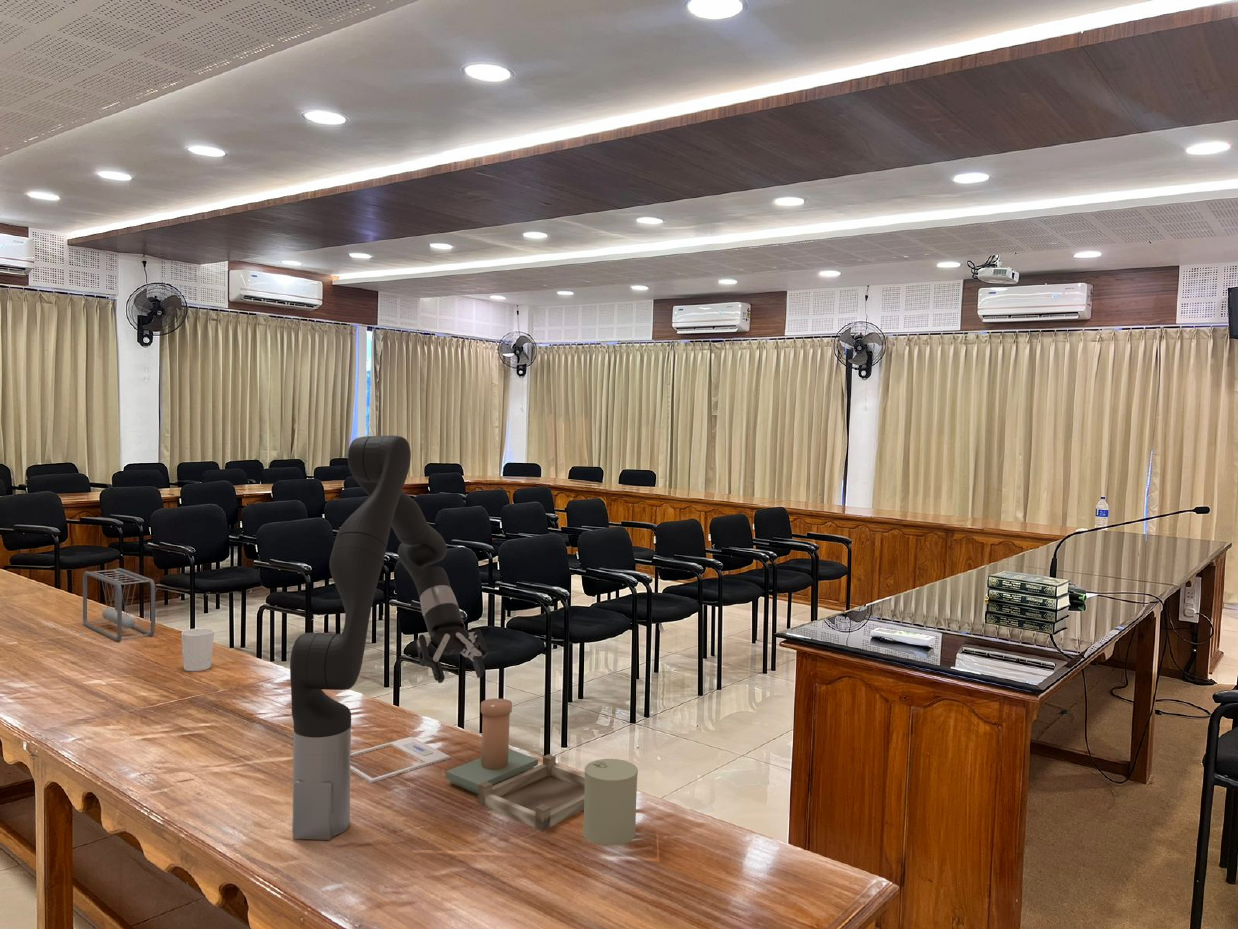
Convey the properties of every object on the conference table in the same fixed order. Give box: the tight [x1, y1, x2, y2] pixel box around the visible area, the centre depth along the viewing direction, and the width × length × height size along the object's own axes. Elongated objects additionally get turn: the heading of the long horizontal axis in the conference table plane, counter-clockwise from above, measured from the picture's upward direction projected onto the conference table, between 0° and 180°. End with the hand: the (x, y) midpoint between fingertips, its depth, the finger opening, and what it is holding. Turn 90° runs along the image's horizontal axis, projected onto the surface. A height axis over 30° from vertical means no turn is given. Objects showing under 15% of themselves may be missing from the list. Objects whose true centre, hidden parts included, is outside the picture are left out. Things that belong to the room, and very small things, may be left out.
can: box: [582, 758, 639, 846], centre depth 147 cm, size 9×9×12 cm
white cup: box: [181, 627, 215, 672], centre depth 234 cm, size 8×8×10 cm
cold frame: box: [477, 754, 585, 832], centre depth 159 cm, size 16×19×4 cm
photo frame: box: [350, 736, 451, 784], centre depth 176 cm, size 15×1×18 cm
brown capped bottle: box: [480, 698, 513, 769], centre depth 168 cm, size 6×6×12 cm
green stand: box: [445, 748, 539, 795], centre depth 168 cm, size 9×16×3 cm, turn 142°
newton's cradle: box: [82, 567, 156, 642], centre depth 270 cm, size 30×10×18 cm, turn 49°
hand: (461, 678), depth 175 cm, fingers open, 8 cm apart
